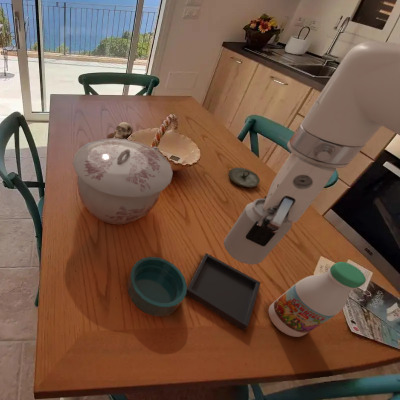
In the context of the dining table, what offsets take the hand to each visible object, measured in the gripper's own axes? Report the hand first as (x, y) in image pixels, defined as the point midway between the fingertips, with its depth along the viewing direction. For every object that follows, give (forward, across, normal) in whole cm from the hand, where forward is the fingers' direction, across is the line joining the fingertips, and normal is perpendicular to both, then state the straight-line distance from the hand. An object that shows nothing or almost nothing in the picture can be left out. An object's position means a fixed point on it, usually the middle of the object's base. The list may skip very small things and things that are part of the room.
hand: (259, 227), depth 49 cm
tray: (+23, +2, -2) cm, 23 cm away
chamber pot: (+23, +10, +34) cm, 42 cm away
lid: (+23, +53, +5) cm, 58 cm away
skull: (+23, +47, +54) cm, 75 cm away
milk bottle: (+24, +4, -16) cm, 29 cm away
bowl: (+23, -9, +11) cm, 27 cm away
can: (+7, 0, 0) cm, 7 cm away
